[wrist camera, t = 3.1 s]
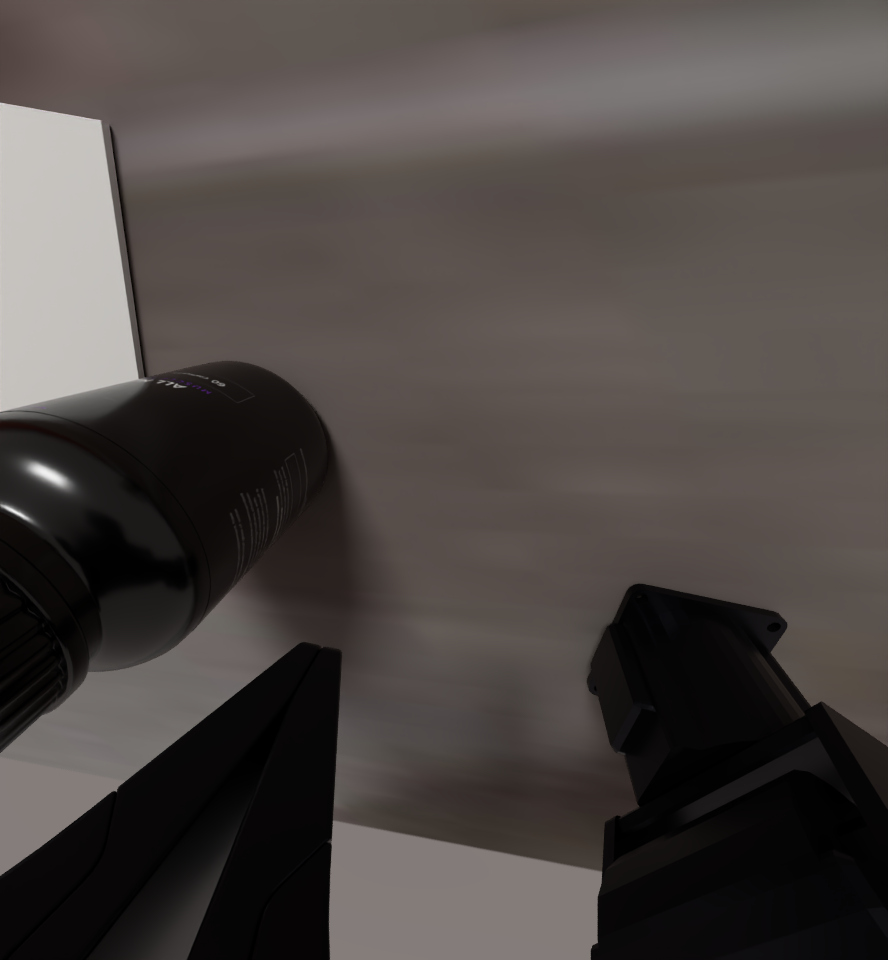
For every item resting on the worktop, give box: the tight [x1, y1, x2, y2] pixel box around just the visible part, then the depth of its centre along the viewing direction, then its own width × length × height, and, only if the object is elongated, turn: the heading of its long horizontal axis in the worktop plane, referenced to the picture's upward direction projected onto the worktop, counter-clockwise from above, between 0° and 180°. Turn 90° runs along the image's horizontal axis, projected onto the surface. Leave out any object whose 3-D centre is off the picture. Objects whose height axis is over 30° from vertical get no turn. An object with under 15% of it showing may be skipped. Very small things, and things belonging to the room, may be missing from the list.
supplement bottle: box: [0, 361, 328, 753], centre depth 12 cm, size 7×7×12 cm
